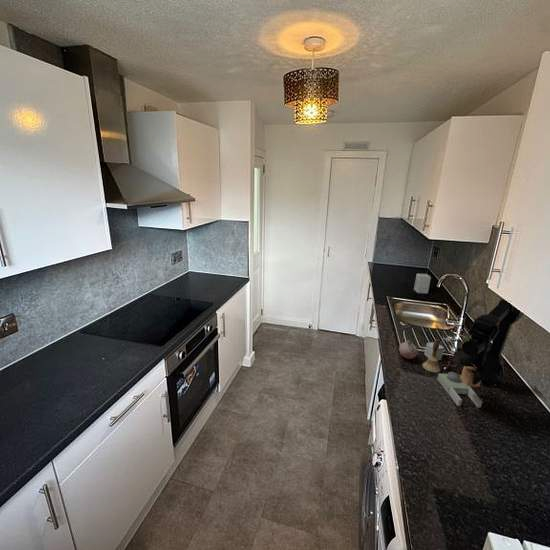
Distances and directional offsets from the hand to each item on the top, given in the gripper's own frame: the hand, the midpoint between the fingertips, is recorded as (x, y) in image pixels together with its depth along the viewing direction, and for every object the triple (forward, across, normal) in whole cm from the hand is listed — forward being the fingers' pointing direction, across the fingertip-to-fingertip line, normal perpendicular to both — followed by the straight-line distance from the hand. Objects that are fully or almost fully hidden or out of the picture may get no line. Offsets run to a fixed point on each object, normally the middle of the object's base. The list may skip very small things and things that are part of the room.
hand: (470, 380), depth 125 cm
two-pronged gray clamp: (+10, -5, 0) cm, 12 cm away
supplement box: (+11, -138, +36) cm, 143 cm away
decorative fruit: (+11, -30, -14) cm, 35 cm away
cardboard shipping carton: (+1, 0, 0) cm, 1 cm away
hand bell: (+11, -23, -4) cm, 26 cm away
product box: (+11, -33, +1) cm, 35 cm away
